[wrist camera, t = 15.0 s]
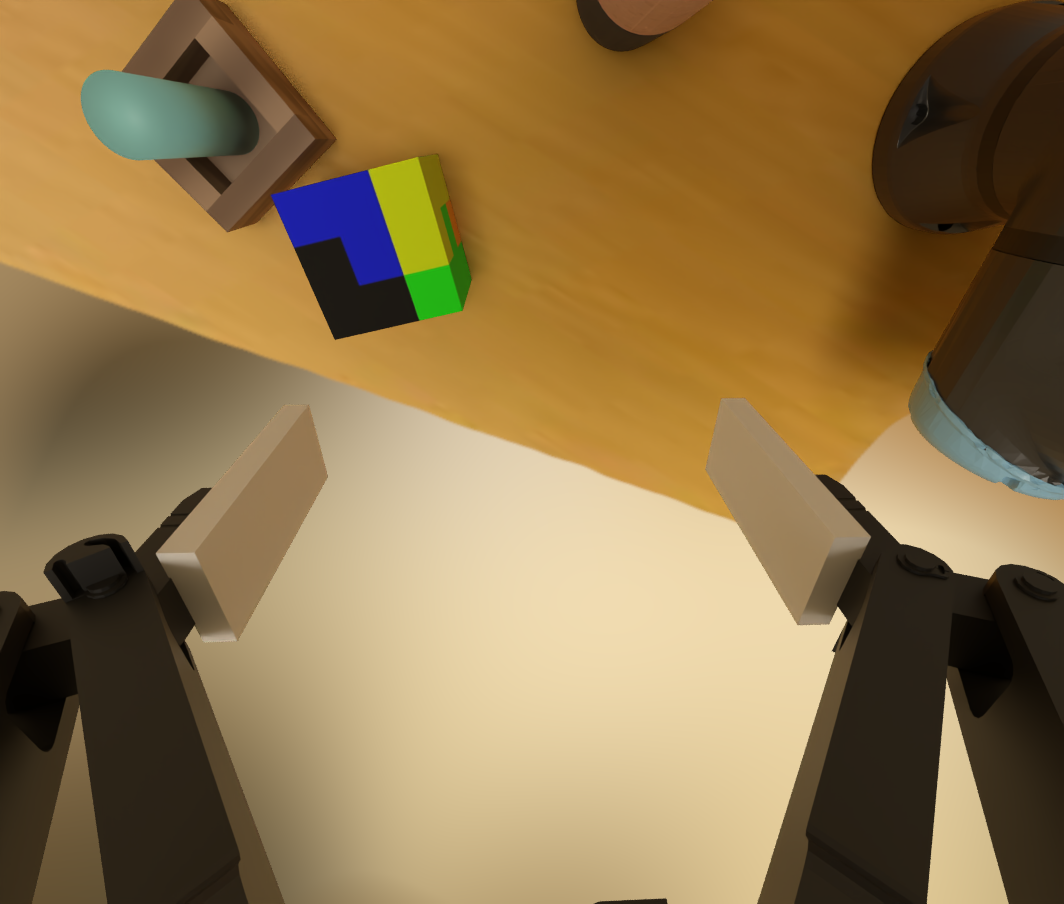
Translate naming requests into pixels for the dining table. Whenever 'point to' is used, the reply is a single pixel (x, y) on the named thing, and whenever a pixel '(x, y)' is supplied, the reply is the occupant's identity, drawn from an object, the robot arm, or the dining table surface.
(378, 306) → the puzzle toy
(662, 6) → the travel mug
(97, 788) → the robot arm
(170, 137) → the teal dowel
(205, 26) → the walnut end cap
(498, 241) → the dining table surface
